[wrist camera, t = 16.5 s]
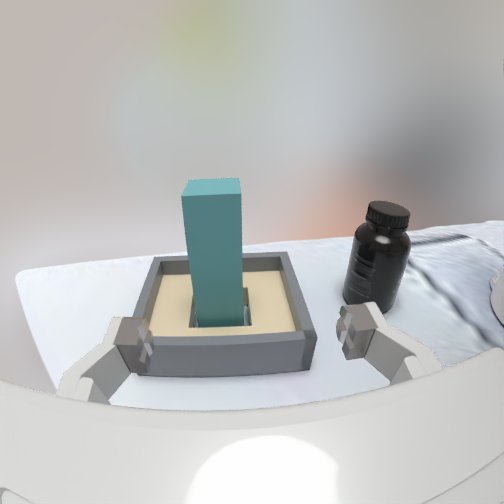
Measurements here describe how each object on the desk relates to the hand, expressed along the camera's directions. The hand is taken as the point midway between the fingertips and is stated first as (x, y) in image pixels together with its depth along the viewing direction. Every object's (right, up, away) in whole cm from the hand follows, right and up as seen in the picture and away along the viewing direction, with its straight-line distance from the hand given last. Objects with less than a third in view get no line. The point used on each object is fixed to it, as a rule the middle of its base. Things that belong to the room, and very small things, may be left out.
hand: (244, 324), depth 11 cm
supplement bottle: (+15, -3, +22) cm, 27 cm away
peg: (-3, -5, +18) cm, 19 cm away
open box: (-3, -5, +18) cm, 19 cm away
